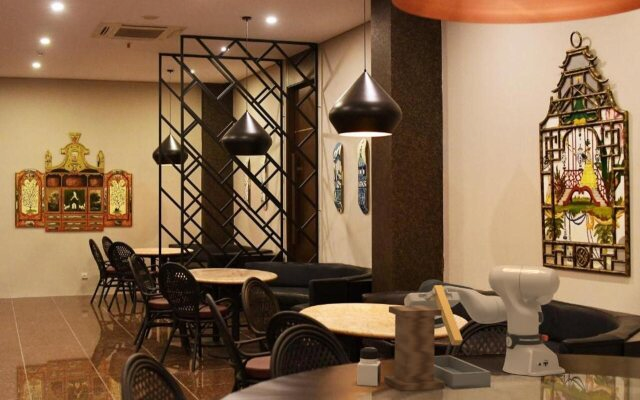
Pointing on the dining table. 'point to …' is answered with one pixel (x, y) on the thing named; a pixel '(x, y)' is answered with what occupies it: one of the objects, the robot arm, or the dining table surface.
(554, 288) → the robot arm
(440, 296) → the rod
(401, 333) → the stand
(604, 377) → the dining table surface
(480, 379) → the tray
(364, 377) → the medicine bottle
